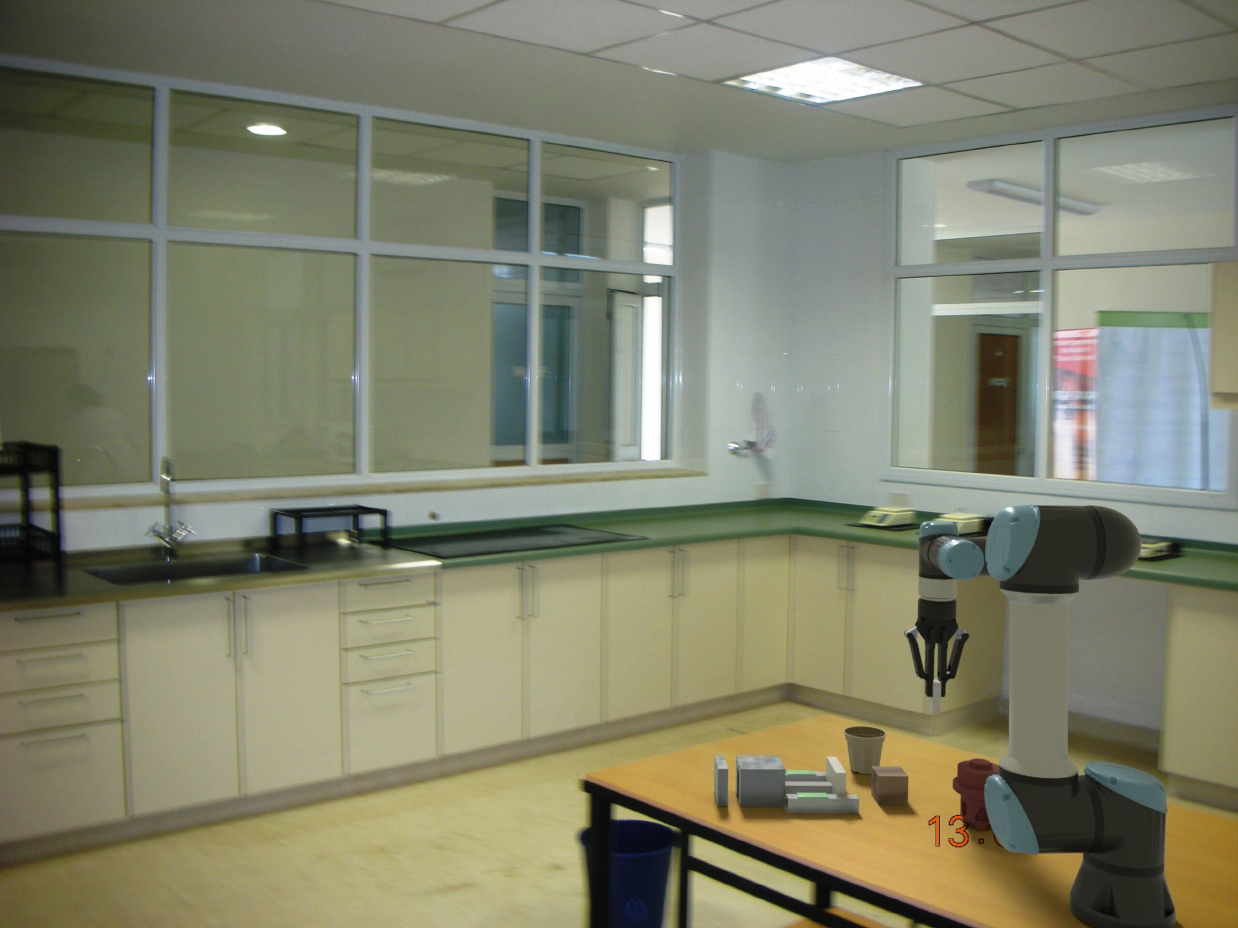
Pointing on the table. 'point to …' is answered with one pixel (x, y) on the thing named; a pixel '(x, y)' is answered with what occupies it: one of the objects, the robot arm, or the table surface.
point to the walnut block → (889, 785)
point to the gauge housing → (777, 787)
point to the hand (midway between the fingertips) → (934, 712)
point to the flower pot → (864, 747)
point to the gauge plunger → (831, 786)
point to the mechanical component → (974, 790)
